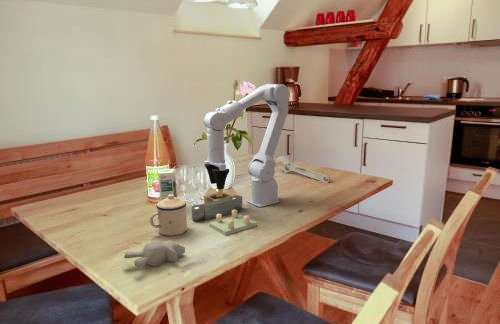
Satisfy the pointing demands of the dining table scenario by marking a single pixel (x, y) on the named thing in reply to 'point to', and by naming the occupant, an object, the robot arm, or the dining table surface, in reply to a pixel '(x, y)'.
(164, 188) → the syrup box
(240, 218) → the rack
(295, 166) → the wrench
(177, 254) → the bunny figurine
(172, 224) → the teacup with lid
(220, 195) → the pin
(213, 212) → the ball-knob grey rod
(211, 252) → the dining table surface
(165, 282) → the dining table surface
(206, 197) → the slot block
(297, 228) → the dining table surface
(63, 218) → the dining table surface
